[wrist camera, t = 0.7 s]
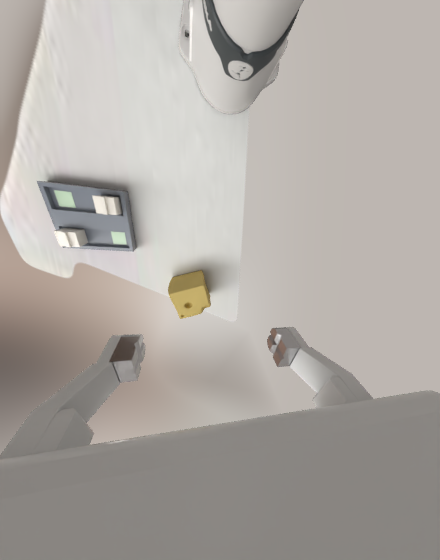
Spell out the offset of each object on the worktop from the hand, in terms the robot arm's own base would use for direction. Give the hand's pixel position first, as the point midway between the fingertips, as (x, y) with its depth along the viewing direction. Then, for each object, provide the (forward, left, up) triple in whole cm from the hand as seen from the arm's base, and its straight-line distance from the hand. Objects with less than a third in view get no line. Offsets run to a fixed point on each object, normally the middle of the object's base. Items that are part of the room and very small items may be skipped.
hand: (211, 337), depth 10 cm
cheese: (+20, -1, -39) cm, 44 cm away
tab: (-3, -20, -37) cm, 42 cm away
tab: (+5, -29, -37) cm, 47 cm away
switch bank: (+1, -24, -39) cm, 46 cm away
